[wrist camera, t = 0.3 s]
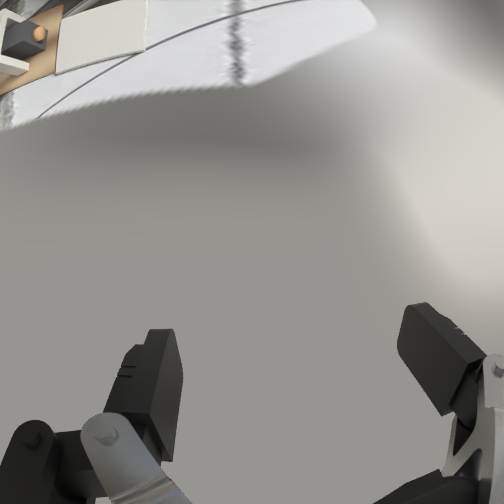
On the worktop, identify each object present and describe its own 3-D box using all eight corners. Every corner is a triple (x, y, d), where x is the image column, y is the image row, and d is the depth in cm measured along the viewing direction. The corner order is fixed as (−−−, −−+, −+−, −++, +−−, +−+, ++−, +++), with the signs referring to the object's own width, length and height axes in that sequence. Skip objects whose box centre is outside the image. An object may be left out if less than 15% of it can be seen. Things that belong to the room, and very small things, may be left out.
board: (-16, 46, 23) (-18, 45, 22) (64, 4, 24) (63, 3, 23) (-24, 108, 27) (-25, 108, 26) (55, 72, 28) (54, 71, 27)
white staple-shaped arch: (23, 29, 23) (-20, 10, 13) (35, 23, 23) (-8, 2, 13) (17, 75, 26) (-33, 65, 15) (28, 70, 26) (-21, 57, 15)
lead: (9, 48, 24) (-13, 41, 19) (53, 28, 25) (32, 16, 19) (7, 68, 25) (-16, 62, 20) (51, 47, 26) (28, 37, 20)
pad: (63, 21, 25) (61, 19, 24) (148, -3, 26) (147, -6, 25) (58, 74, 28) (55, 73, 27) (145, 51, 29) (143, 49, 28)
